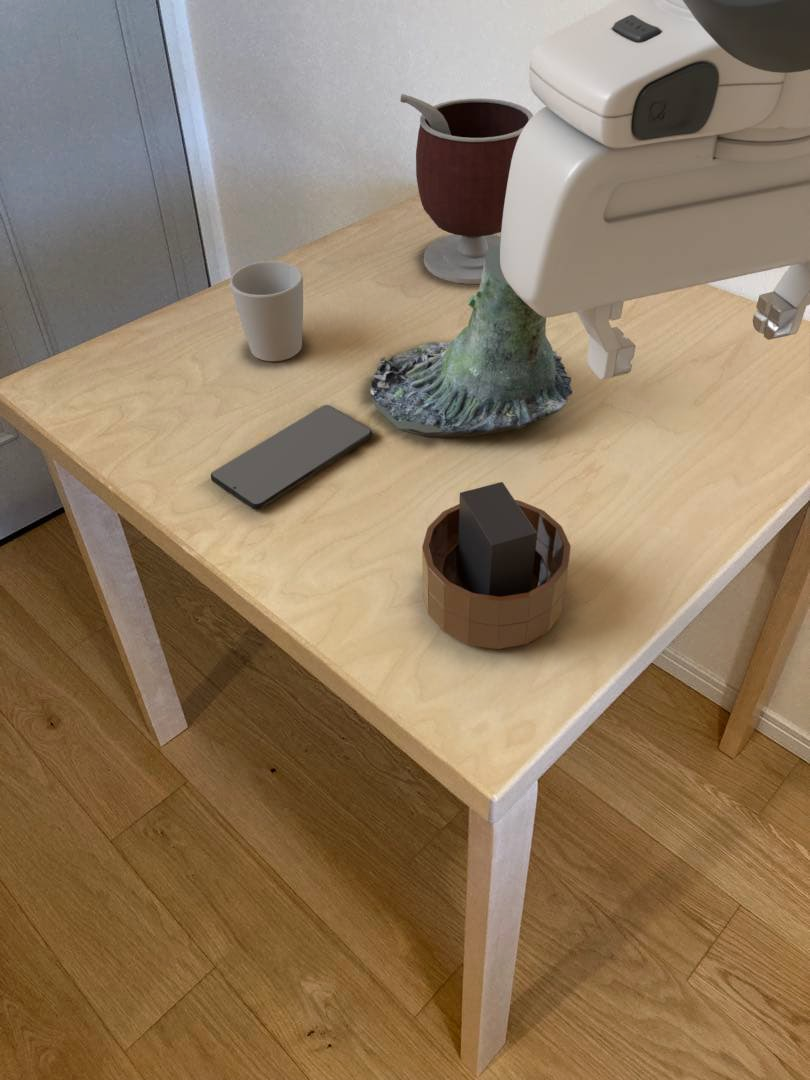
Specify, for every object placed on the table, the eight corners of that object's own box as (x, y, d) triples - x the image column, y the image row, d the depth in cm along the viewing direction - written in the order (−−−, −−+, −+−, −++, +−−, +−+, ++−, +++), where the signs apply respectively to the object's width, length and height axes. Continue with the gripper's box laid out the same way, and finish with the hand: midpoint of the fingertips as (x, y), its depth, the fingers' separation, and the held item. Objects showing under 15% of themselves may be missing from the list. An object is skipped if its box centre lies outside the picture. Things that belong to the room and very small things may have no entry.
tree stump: (418, 330, 102) (459, 181, 89) (574, 410, 98) (641, 268, 85) (335, 409, 90) (368, 251, 77) (510, 504, 86) (577, 355, 73)
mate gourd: (518, 232, 118) (530, 67, 104) (536, 284, 108) (551, 109, 94) (401, 238, 117) (396, 73, 103) (408, 291, 107) (404, 117, 93)
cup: (240, 370, 96) (227, 298, 90) (243, 321, 103) (232, 252, 97) (311, 365, 96) (303, 293, 90) (309, 317, 104) (302, 247, 98)
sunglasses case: (496, 564, 74) (502, 481, 67) (528, 616, 70) (537, 532, 63) (457, 575, 73) (459, 492, 67) (486, 628, 69) (492, 545, 62)
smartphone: (374, 430, 86) (255, 506, 79) (375, 437, 87) (257, 514, 79) (325, 402, 90) (206, 473, 82) (326, 409, 90) (208, 480, 83)
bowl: (539, 542, 76) (545, 489, 72) (580, 640, 68) (589, 587, 64) (412, 561, 75) (411, 508, 71) (439, 663, 67) (440, 611, 63)
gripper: (922, -7, 39) (826, 282, 49) (492, 53, 35) (480, 359, 44) (1040, 31, 35) (909, 340, 44) (567, 107, 30) (535, 432, 40)
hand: (692, 351), depth 44 cm, fingers open, 8 cm apart
